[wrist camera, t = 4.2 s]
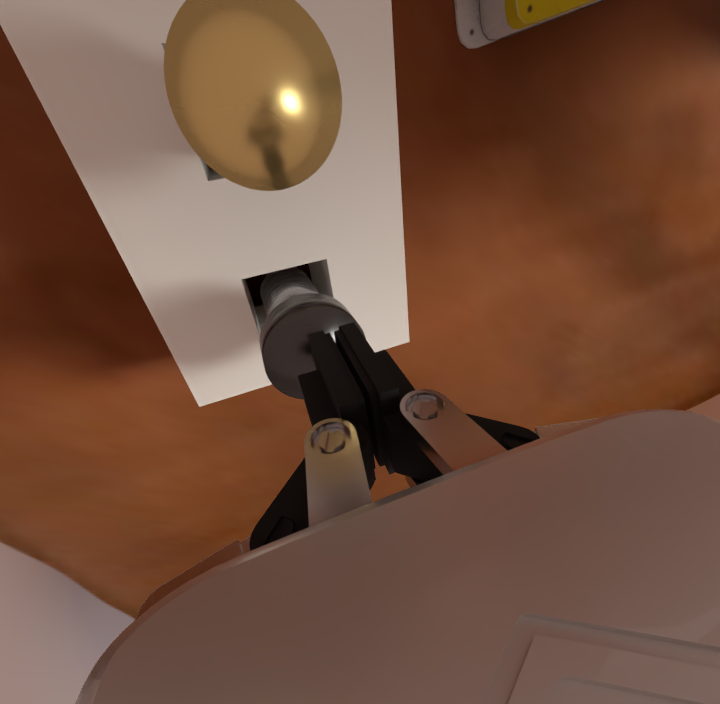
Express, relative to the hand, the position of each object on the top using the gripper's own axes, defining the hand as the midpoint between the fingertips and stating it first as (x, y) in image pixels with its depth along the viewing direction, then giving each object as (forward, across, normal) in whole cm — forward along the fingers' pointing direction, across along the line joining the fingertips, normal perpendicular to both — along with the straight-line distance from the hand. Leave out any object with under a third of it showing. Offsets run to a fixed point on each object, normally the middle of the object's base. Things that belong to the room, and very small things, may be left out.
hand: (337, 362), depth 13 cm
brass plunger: (+7, +1, -8) cm, 11 cm away
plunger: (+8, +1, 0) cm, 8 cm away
